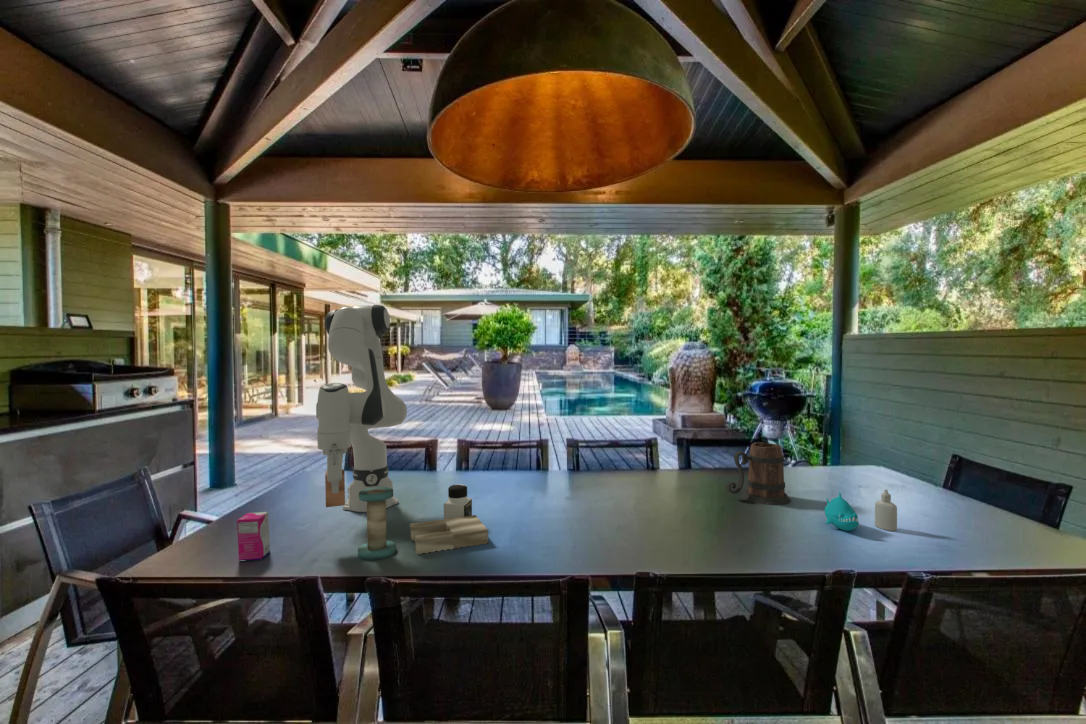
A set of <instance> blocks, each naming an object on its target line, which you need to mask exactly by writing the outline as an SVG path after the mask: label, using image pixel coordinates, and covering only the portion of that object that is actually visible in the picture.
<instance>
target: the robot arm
mask: <svg viewBox="0 0 1086 724" xmlns="http://www.w3.org/2000/svg"><path fill="white" fill-rule="evenodd" d="M390 324H391V316H390V313H389V312H388V309H387V308H386V307H385V306H384V305H380V304H373V305H356V306H345V307H341V308H339V309H338V308H336V309H333V310H330V311H329V312H328V313H327V314H326V315H325V317H324V326H325V330H326V333H327V334H328V339H327V347H328V348H327V349H328V351H329V354H330V355H331V357H332V358H333V359H334V360H335V361H338V362H339V363H341V364H343V365H346V366H350V367H351V381H352V383H353V384H354V385H355V386H356V387H358V389H359V388H360V389H362V390H365V391H362V392H350V390H349V387H348V385H347V384H344V383H340V382H332V383H331V382H330V383H326V384H323V385H322V386H320V387H319V389H318V394H317V402H316V407H315V411H316V414H315V415H316V416H315V417H316V419H317V422H318V426H317V427H318V428H317V431H316V433H317V436H316V437H317V439H316V440H317V449H318V450H320V451H322V455H324V456H326V471H327V480H328V482H331V486H332V493H338V492H339V481H341V480H342V470H343V458H344V454H346V453H347V452H348V451H347V450H348V449H349V448H350V447H352V454H353V463H354V464H353V468H352V478H353V480H352V482H350V484H349V485H348V487H347V494H348V495H347V500H345V505H343V506H342V510H345V511H352V512H358V513H359V512H360V513H367V502H366V501H361V500H359V492H360V491H362V490H364V489H368V488H373V487H389V488H392V489H393V490H394V486H393V485H394V482H393V480H391V478H390V477H389V465H388V464H387V461H388V459H387V455H388V454H387V445H386V443H385V441H383V440H382V439H379V438H377V437H375V436H372V435H370V434H369V430H371V429H378V428H379V429H380V428H391V427H395V426H399V425H401V424H403V422H404V421H405V420H406V418H407V416H408V415H407V414H408V407H407V405H406V403H405V402H404V400H403V399H402V398H400V397H399V396H397V395H396V394H395V393H394V392H393V391H392V390H391V389H390V386H389V385H388V383H387V380H386V376H385V370H384V357H383V349H382V344H381V339H383V337H384V335H386V333H387V332H388V331H389V329H390ZM397 504H399V499H397V497H395V496H394V495H393V497H391V498H390V499H387V500H386V509H388V508H390V507H391V506H394V505H397Z"/></svg>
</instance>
